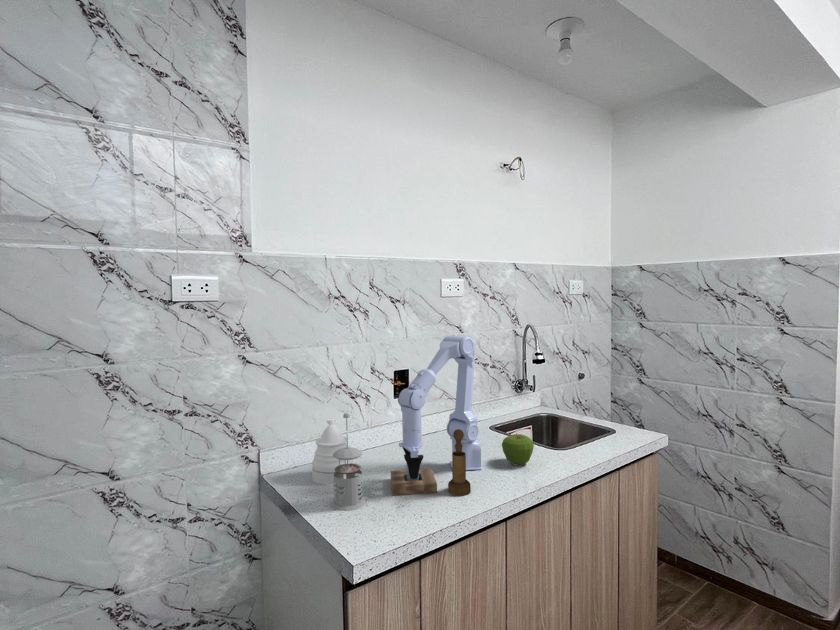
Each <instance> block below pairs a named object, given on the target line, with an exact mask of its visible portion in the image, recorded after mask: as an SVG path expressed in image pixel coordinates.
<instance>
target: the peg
mask: <svg viewBox="0 0 840 630" xmlns="http://www.w3.org/2000/svg"><path fill="white" fill-rule="evenodd" d="M405 462H406V461H405ZM405 464H406V470H407V481H418V480H419V474H418V478H417V479H410V475H409V469H408V465H407V462H406V463H405Z"/></svg>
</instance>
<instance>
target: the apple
mask: <svg viewBox="0 0 840 630" xmlns="http://www.w3.org/2000/svg"><path fill="white" fill-rule="evenodd" d="M534 446H535V444H534V441H533V440H532V438H530V437H529V436H527V435H524V434H512V435H508V436H506V437H504V438H503V441H502V442H501V447H502V452H503V454H504V456H505V458H506V460H507V461H508V462H510V463H511V464H512V465H513V466H524V465H525V464H527V463H528V462H529V461H530V459H531V457H532V454H533V451H534Z"/></svg>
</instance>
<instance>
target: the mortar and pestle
mask: <svg viewBox="0 0 840 630" xmlns="http://www.w3.org/2000/svg"><path fill="white" fill-rule="evenodd" d="M453 436H454V438H455V440H456V445H455V449H456V451H455V452H453V453H452V452H451V459H452V460H451V461H452V467H451V469H452V479H451V480H450V481H449V482H448V483H447V485H448V486H447V487H448V488H447V491H448V493H449V494H450V495H453V496H456V497H463V496H467V495H469V494H470V493H471V490H472V488H471V487H472V486H471V483H470V481H468V479H467V476H466V475H467V470H466V454H465V453H464V452H462V447H463V445H461V440H462V439H463V436H464V433H463V431H462V430H460V429H457V430H455V431H454V433H453Z"/></svg>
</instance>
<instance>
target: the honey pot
mask: <svg viewBox="0 0 840 630" xmlns="http://www.w3.org/2000/svg"><path fill="white" fill-rule="evenodd" d="M335 420H336V419H335V418H327V419H326V424H328V426H327V427H326V428H324V431H323V432H322V434H321V435H320V437H318V438H317V439H316V440H315V445H316V446H317V447H316V449H315V451H314V455H313V459H312V463H311V465H312V466H311V468H312V469H311V472H312V473H311V475H312V481H313V482H314V483H316V484H318V485H324V486H325V485H326V486H327V485H334V484H336V483H335V482H334V473H335V472H336V471H335V468H336V467H337V466H339V459H336V458H335V457H333V453H334V452H336V451H337V450H339V449H341V448H345V447H347V436H344V435H343V433H342V431H341V429H340V428H338V426H337V425H335ZM353 460H354V459H352V460H348V464H349V463H352V464H354V462H353ZM342 464H345V460H340V465H342ZM346 464H347V460H346ZM343 476H344V479H346V474H343Z"/></svg>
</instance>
